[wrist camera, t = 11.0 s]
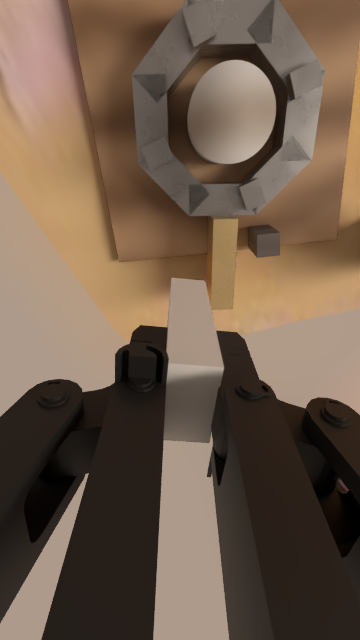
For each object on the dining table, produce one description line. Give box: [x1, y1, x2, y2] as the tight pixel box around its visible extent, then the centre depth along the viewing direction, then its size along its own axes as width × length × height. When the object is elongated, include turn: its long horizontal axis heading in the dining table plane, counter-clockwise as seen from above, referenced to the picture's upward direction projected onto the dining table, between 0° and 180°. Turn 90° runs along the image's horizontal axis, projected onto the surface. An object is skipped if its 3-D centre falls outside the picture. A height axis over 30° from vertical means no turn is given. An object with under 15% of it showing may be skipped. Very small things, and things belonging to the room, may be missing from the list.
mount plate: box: [68, 0, 360, 262], centre depth 25 cm, size 22×22×7 cm
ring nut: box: [132, 0, 326, 310], centre depth 26 cm, size 22×14×5 cm, turn 1°
